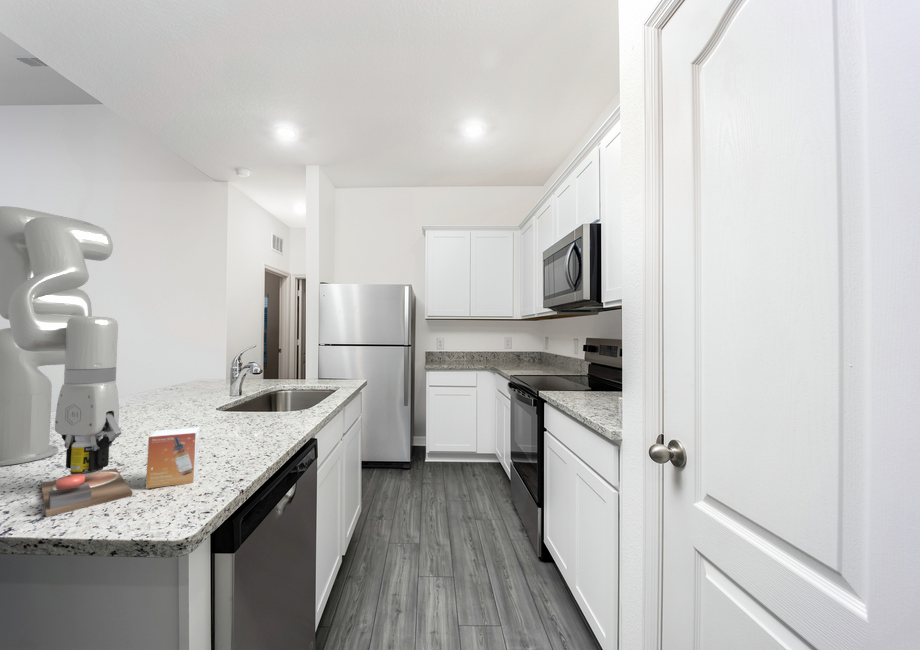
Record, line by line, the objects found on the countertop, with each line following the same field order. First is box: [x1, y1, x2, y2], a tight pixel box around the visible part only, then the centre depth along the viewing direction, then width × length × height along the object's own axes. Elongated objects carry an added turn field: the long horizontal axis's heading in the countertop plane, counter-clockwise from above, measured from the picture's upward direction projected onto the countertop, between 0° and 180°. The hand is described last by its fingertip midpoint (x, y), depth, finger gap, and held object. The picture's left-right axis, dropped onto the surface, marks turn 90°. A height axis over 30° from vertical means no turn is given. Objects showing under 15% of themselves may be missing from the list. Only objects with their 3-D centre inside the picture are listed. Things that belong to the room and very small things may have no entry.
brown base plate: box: [40, 467, 133, 518], centre depth 73 cm, size 18×11×2 cm, turn 50°
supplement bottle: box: [69, 430, 104, 476], centre depth 75 cm, size 5×5×8 cm
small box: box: [145, 426, 201, 489], centre depth 78 cm, size 8×6×10 cm
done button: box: [55, 474, 85, 490], centre depth 67 cm, size 4×4×1 cm
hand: (87, 466), depth 75 cm, fingers closed on supplement bottle, 4 cm apart
